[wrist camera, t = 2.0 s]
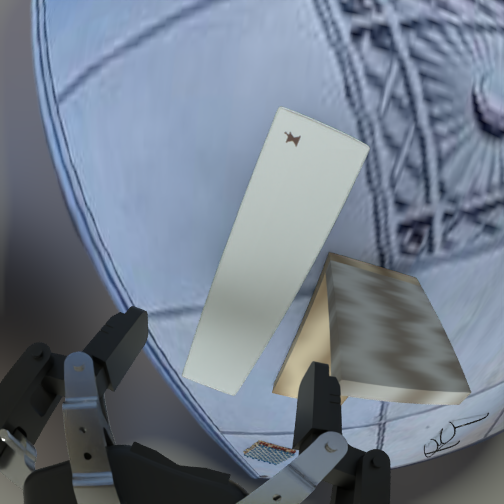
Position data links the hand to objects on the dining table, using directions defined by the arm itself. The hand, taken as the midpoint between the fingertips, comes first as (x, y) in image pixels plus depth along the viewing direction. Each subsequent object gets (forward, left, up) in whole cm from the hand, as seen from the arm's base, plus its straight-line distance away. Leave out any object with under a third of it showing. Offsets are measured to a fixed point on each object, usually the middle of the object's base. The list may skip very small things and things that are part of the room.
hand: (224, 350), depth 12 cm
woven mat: (-14, +57, -21) cm, 62 cm away
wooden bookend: (-13, +15, -20) cm, 28 cm away
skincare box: (0, 0, -21) cm, 21 cm away
